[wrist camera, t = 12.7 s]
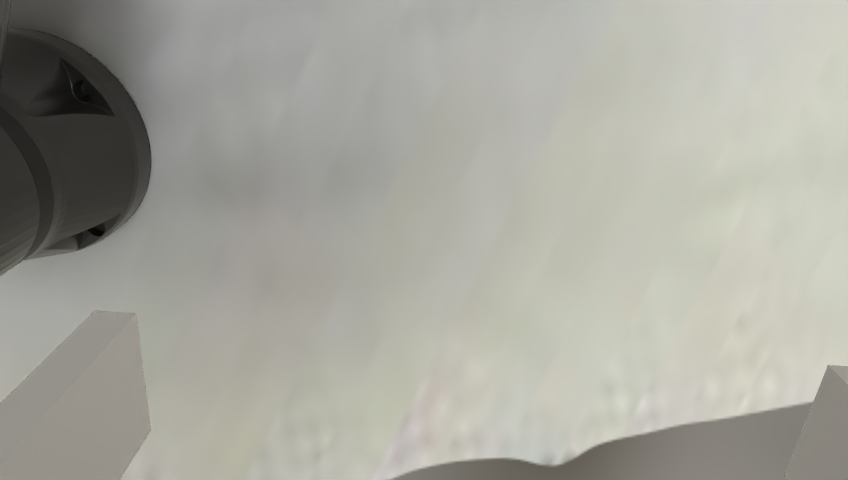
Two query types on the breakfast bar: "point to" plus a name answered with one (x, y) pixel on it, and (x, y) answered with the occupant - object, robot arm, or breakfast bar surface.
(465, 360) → the breakfast bar surface
